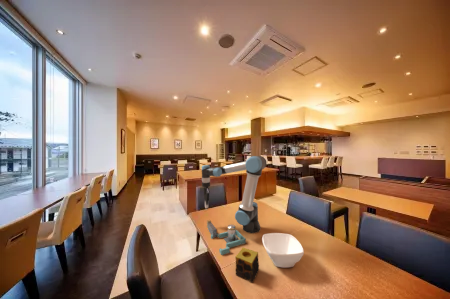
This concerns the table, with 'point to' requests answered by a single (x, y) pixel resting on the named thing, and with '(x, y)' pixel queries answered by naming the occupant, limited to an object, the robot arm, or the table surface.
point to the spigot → (231, 233)
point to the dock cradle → (230, 244)
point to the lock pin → (211, 228)
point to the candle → (247, 264)
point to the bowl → (283, 249)
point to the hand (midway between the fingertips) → (206, 207)
